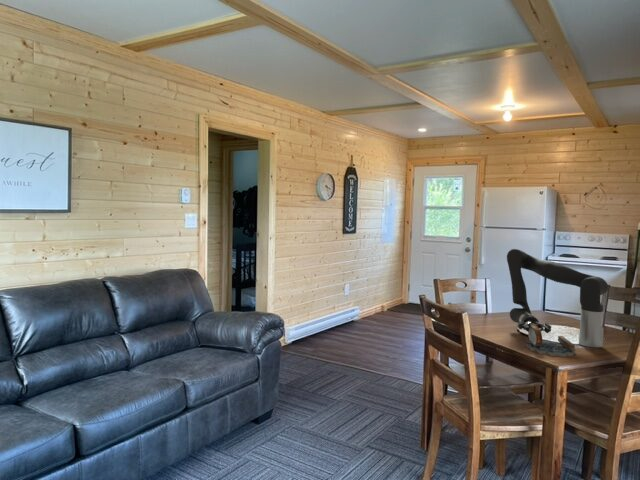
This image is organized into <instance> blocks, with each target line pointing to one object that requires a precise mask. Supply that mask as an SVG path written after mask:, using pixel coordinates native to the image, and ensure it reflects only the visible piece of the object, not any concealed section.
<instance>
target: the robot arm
mask: <svg viewBox="0 0 640 480" xmlns="http://www.w3.org/2000/svg"><path fill="white" fill-rule="evenodd" d="M506 261H507V266H508V270H509V275H510V281H511V291H512V292H511V294H512V303H513V304H515V305H518V306H521V307H522V308H520V307H514V308H512V309H510V311H509V317H510V320H511V321H512V322H514V323H516V324H517V325H516V326H517V328H518V330H522V329H523V330H524V331H526V332H529V328H530V327H529V325H536V326H537V327H538V328H539V329H540V330H541V332H545V333H546V334H549V333H551V332H552V325H550V324H549V323H547V322H546V323H541V322H540V321H539V320H538V318H537V317H536V316H534V314H532V312H531V309H530V306H529V303H528V297H527V288H526V283H525V280H524V278H523V273H522V269H523V270H528V271H530V272H533V273H535V274H537V275H538V276H541V277H543V278H545V279H548V280H550V281H552V282H555V283H559V284H565V285H571V286H575V287H578V288H579V303H580V306H581V307H580V319H579V321H580V322H579V331H578V332H579V335H578V345H581V346H583V347H588V348H603V344H604V343H603V342H604V330H605V329H604V327H603V317H604V305H603V304H602V303H601V296H602V295H604V294H606V293H607V292H608V290H609V284H608V282H607V281H606V280H605V279H604V278H602V277H599V276H596V275H591V274H589V273H588V274H587V273H584V272H580V271H578V270H576V269H573V268H570V267H568V266H565V265H563V264H560V263H557V262H555V261H550V260H545V259H539V258H538V257H535V256H533V255H530V254H529V253H526V252H525V251H523V250H521V249H518V248H511V249H510V250H509V251H508V252H507V253H506Z"/></svg>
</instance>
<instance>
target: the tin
mask: <svg viewBox="0 0 640 480" xmlns="http://www.w3.org/2000/svg"><path fill="white" fill-rule="evenodd" d="M529 327H530V328H529V332H528V335H527V336H528V340H529V341H530V342H531V343H532V344H533V345H534V346H536V347H541V346H542V341H543V334H542V331H541V330H540V329H541V328H540V329H539V328H538V327H537V326H536V325H529Z"/></svg>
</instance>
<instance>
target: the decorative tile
mask: <svg viewBox="0 0 640 480" xmlns="http://www.w3.org/2000/svg"><path fill="white" fill-rule="evenodd" d="M525 347H526V348H527V349H529V351H531V352H536V353H537V354H539V355H546V356H550V357H561V358H566V357H574V354H576V349H575V350H574V351H570V350H568V349H567V348H566V347H565V346H564V345H562V344H561V343H560V342H553V341H550V340H547V341H546V340H545V341H544V340H542V346H541V347H536V346H534V345H533V344H532V343H531V342H530V340H529V341H528V342H527V343H526V344H525Z"/></svg>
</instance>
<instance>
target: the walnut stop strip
mask: <svg viewBox="0 0 640 480" xmlns="http://www.w3.org/2000/svg"><path fill="white" fill-rule="evenodd" d="M557 341H558V343H561V344H562V345H564V346H565V347H566V348H567V349H568V350H570V351H574V350H575V351H576V345H575V344H573V342H571V341H570V340H569V339H567V338H566V337H565V336H563V335H558V336H557Z"/></svg>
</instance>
